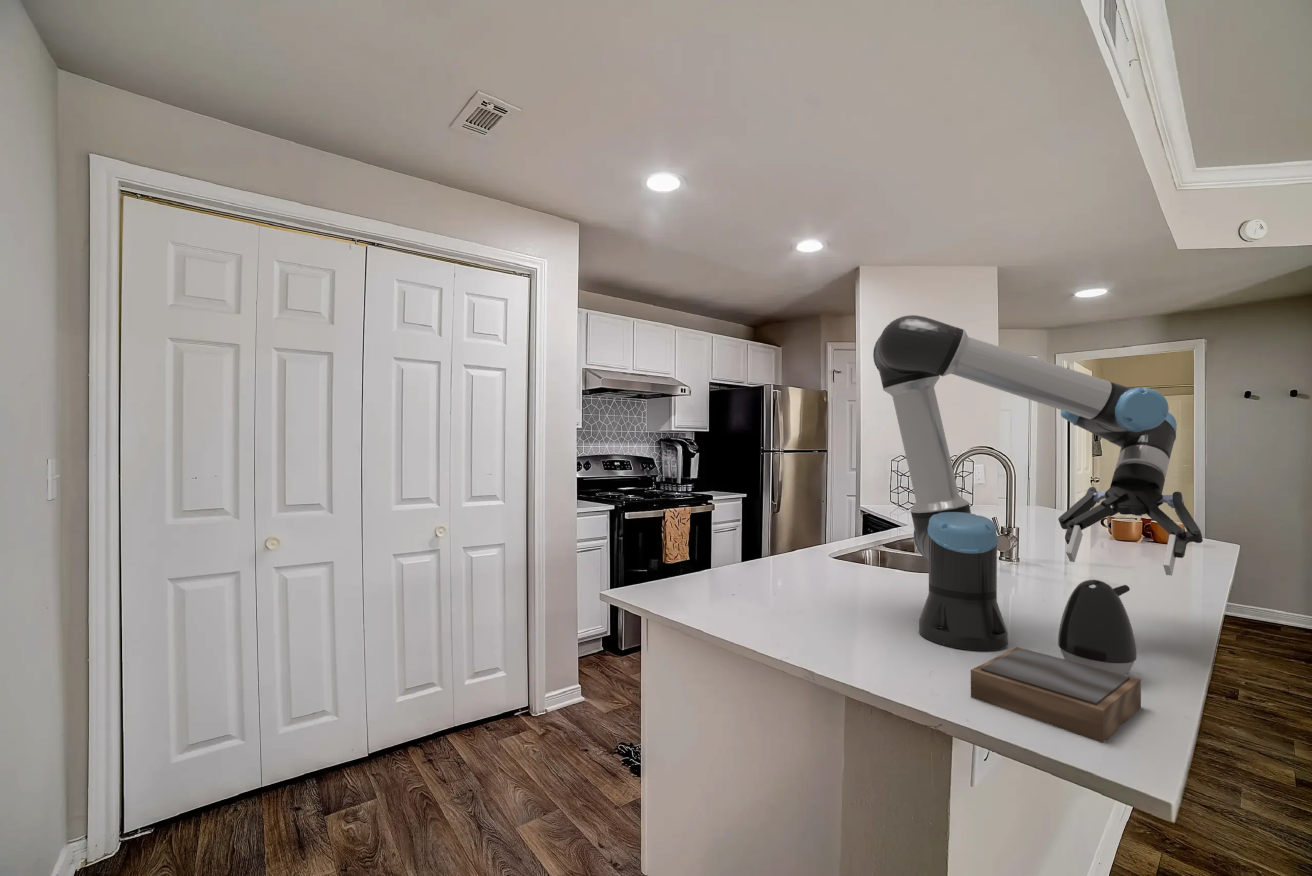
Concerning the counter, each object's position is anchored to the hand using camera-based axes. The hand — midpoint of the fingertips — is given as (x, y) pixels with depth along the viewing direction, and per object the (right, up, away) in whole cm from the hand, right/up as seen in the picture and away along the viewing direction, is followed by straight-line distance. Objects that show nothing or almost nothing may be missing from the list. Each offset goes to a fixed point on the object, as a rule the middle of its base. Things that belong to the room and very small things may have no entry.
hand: (1116, 563), depth 100 cm
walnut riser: (-23, -16, -17) cm, 33 cm away
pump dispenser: (-8, -17, -7) cm, 20 cm away
